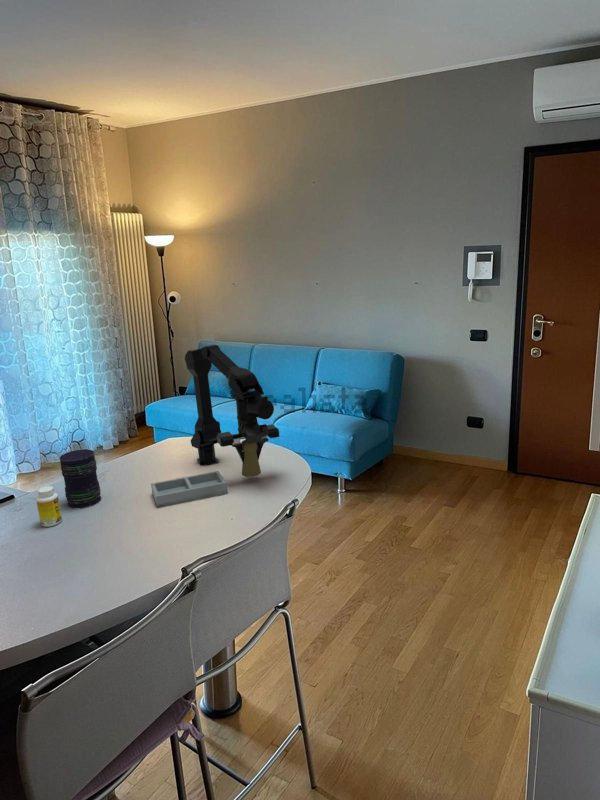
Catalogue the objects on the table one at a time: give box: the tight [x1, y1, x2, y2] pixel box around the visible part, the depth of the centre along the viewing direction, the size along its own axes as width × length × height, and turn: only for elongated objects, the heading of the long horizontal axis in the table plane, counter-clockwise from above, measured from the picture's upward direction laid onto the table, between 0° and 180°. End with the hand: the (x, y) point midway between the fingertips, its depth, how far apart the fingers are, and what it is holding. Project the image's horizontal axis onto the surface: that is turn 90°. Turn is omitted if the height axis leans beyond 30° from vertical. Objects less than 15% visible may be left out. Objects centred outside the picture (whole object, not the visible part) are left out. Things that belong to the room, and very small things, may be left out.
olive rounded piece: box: [240, 439, 262, 478], centre depth 182 cm, size 6×6×11 cm
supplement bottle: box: [35, 485, 63, 528], centre depth 161 cm, size 6×6×10 cm
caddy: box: [150, 470, 229, 509], centre depth 176 cm, size 11×21×4 cm, turn 111°
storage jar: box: [59, 448, 102, 509], centre depth 174 cm, size 10×10×15 cm
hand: (250, 461), depth 182 cm, fingers closed on olive rounded piece, 4 cm apart
